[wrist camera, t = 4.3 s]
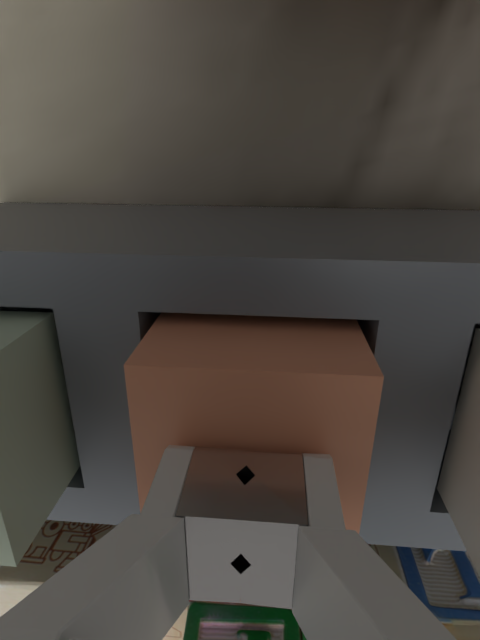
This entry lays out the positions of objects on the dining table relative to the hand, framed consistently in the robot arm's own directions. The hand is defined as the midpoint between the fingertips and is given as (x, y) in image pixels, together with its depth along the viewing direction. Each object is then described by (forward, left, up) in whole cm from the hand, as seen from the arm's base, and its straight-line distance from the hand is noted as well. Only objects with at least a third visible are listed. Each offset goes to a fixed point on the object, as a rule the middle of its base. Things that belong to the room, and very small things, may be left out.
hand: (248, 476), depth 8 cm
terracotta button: (0, 0, -3) cm, 3 cm away
